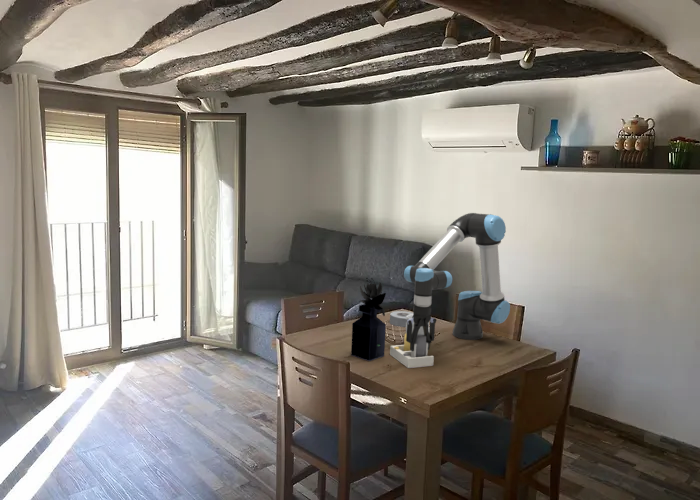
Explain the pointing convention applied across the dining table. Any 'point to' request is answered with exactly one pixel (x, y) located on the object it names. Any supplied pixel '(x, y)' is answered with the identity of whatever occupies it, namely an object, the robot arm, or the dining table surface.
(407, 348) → the ochre plug
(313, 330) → the dining table surface
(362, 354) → the vase
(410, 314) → the mug
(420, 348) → the charcoal plug
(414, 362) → the comb rack
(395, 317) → the grey wheel
